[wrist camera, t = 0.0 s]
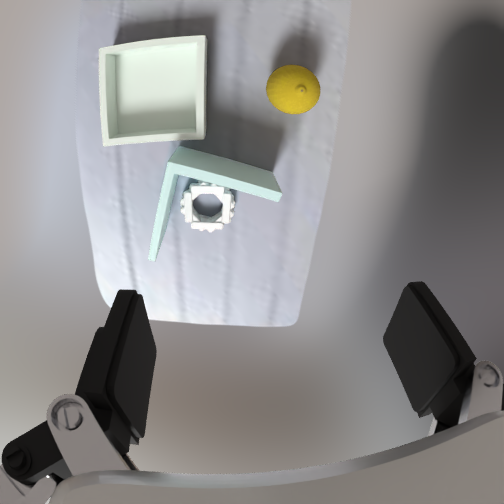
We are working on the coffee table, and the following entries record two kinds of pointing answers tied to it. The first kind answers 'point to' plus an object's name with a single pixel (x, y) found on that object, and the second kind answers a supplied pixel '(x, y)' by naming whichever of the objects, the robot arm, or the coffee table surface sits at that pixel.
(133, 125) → the bin
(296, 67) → the lemon
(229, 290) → the coffee table surface
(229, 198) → the l-shaped corner panel
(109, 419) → the robot arm
